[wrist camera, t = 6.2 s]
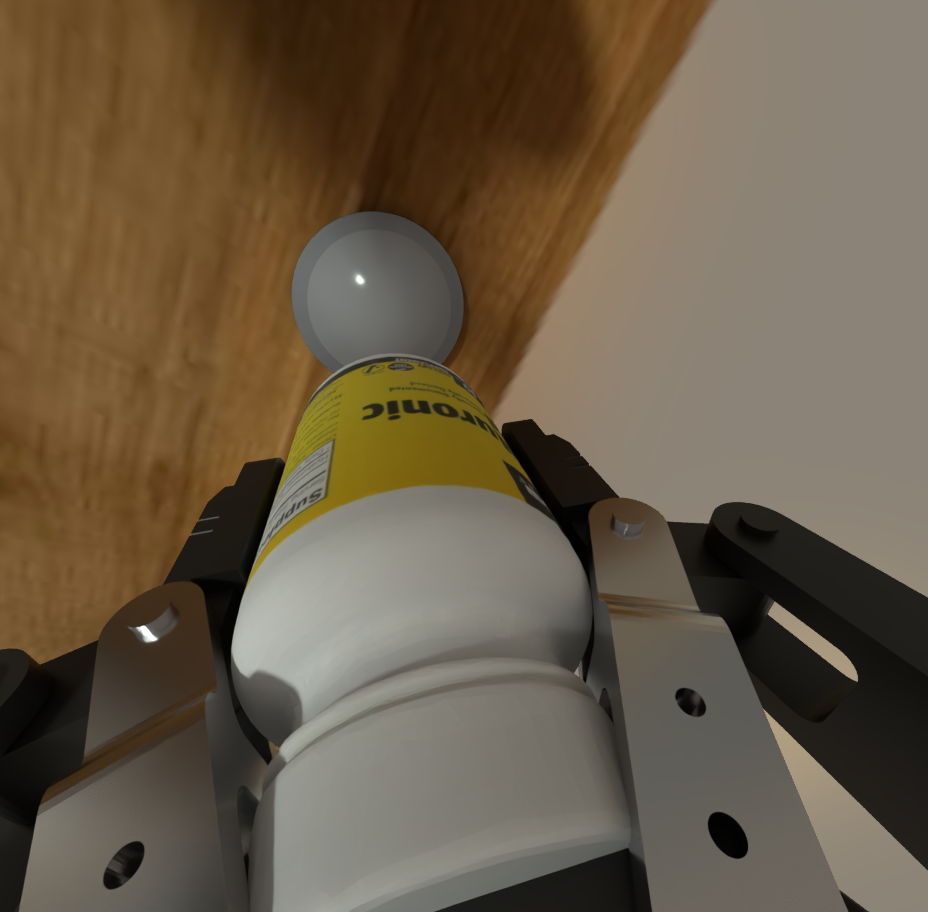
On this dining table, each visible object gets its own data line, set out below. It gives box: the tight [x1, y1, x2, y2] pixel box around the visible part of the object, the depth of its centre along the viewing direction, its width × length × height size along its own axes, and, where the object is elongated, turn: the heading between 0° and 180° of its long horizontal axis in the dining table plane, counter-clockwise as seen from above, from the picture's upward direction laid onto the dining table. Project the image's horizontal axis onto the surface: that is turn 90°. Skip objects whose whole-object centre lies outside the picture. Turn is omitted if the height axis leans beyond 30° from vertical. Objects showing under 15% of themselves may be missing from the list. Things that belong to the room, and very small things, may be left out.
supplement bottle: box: [231, 353, 631, 912], centre depth 8 cm, size 5×5×10 cm
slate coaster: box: [292, 212, 464, 373], centre depth 26 cm, size 11×11×1 cm
